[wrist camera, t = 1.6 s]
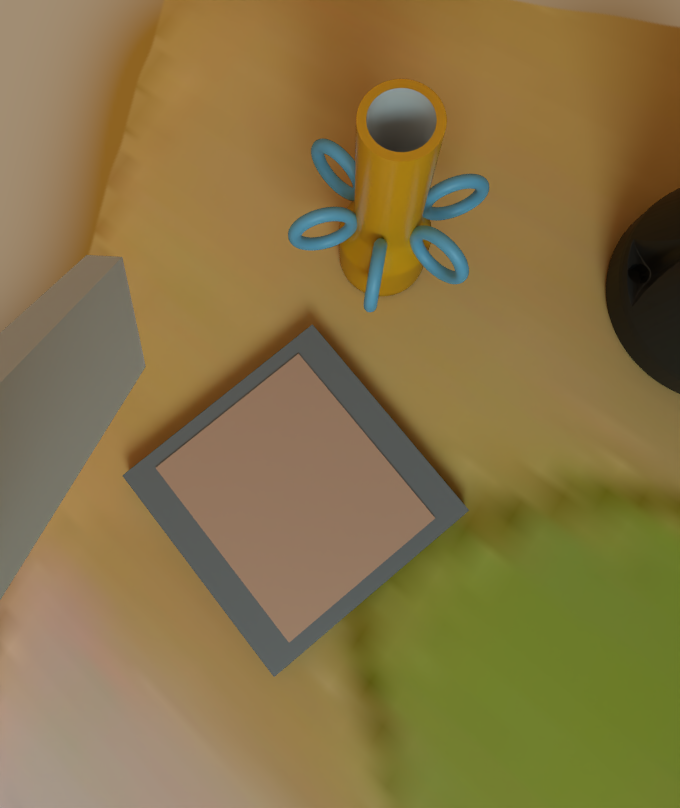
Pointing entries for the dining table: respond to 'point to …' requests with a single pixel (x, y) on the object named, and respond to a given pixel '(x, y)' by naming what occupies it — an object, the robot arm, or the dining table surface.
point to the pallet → (294, 498)
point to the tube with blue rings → (391, 194)
